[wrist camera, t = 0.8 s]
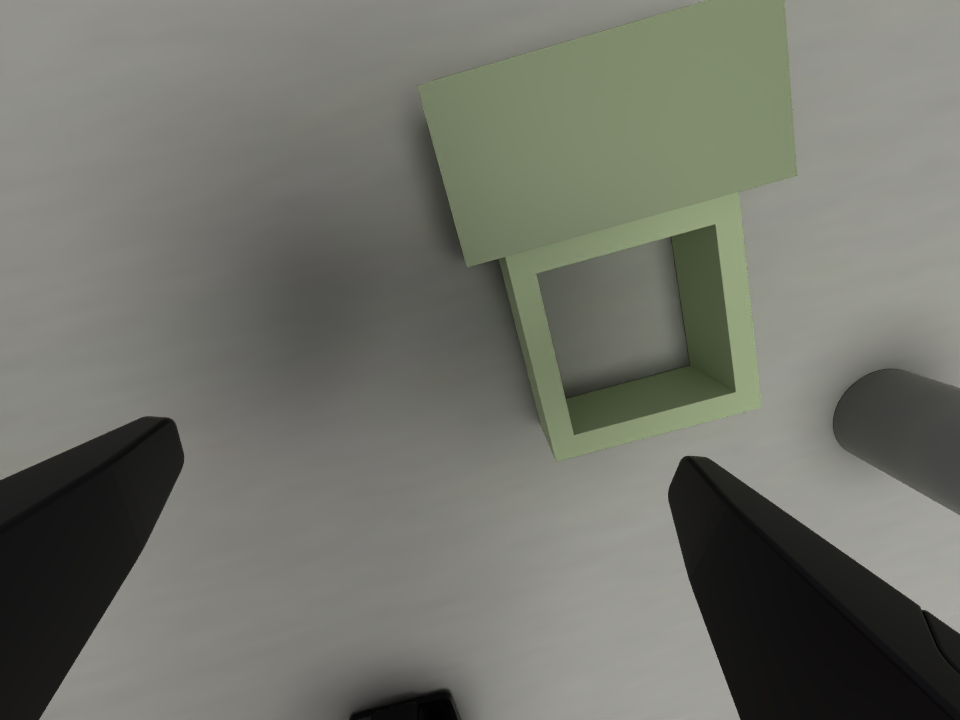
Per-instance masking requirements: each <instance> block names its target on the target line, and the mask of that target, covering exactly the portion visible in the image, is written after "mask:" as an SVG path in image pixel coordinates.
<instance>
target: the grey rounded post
mask: <svg viewBox="0 0 960 720" xmlns="http://www.w3.org/2000/svg"><path fill="white" fill-rule="evenodd" d="M833 428H834V433H835V437H836V439H837V441H838V442H839V444H840V445H841V446H842V447H843V448H844V449H845V450H846V451H848V452H850V453H851V454H853V455H855V456H857V457H858V458H860V459H862V460H864V461H865V462H867V463H869V464H871V465H872V466H874V467H876V468H878V469H879V470H881V471H883V472H885V473H886V474H888V475H890V476H892V477H894V478H895V479H897V480H899V481H901V482H902V483H904V484H906V485H908V486H909V487H911V488H913V489H915V490H916V491H918V492H920V493H922V494H923V495H925V496H927V497H929V498H930V499H932V500H934V501H936V502H938V503H939V504H941V505H943V506H945V507H946V508H948V509H950V510H952V511H953V512H955V513H957V514H959V515H960V388H958V387H955V386H951V385H948V384H945V383H942V382H939V381H935V380H932V379H929V378H926V377H923V376H920V375H916V374H913V373H910V372H907V371H904V370H899V369H884V370H879V371H876V372H873V373H870V374H868V375H866V376H864V377H863V378H861V379H859V380H858V381H857V382H855V383H854V384H853V385H852V386H851V387H850V388H849V389H848V390H847V391H846V392H845V394H844V395H843V396H842V398H841V400H840V401H839V403H838V405H837V408H836V411H835V414H834V420H833Z"/></svg>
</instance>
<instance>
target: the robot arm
mask: <svg viewBox="0 0 960 720" xmlns="http://www.w3.org/2000/svg"><path fill="white" fill-rule="evenodd" d="M183 464H184V452H183V449H182V445H181V441H180V437H179V434H178V430H177V426H176V423H175V422H174V421H173V420H172V419H170V418H167V417H154V416H146V417H142V418H140V419H137V420H135V421H133V422H131V423H128V424H126V425H124V426H122V427H119V428H117V429H115V430H113V431H110V432H108V433H106V434H104V435H101V436H99V437H97V438H95V439H92V440H90V441H88V442H86V443H83V444H81V445H79V446H77V447H74V448H72V449H70V450H68V451H65V452H63V453H61V454H59V455H56V456H54V457H52V458H49V459H47V460H45V461H43V462H40V463H38V464H36V465H34V466H31V467H29V468H27V469H25V470H22V471H20V472H18V473H16V474H13V475H11V476H9V477H7V478H4V479H2V480H0V720H39V719H40V717H41V716H42V714H43V712H44V711H45V709H46V707H47V706H48V704H49V702H50V701H51V699H52V698H53V696H54V694H55V693H56V691H57V689H58V688H59V686H60V685H61V683H62V681H63V680H64V678H65V676H66V675H67V673H68V672H69V670H70V668H71V667H72V665H73V663H74V662H75V660H76V658H77V657H78V655H79V654H80V652H81V650H82V649H83V647H84V645H85V644H86V642H87V641H88V639H89V637H90V636H91V634H92V632H93V631H94V629H95V628H96V626H97V624H98V623H99V621H100V619H101V618H102V616H103V614H104V613H105V611H106V610H107V608H108V606H109V605H110V603H111V601H112V600H113V598H114V597H115V595H116V593H117V592H118V590H119V588H120V587H121V585H122V584H123V582H124V580H125V579H126V577H127V575H128V574H129V572H130V570H131V569H132V567H133V566H134V564H135V562H136V561H137V559H138V557H139V555H140V554H141V552H142V550H143V548H144V546H145V544H146V543H147V541H148V539H149V537H150V535H151V533H152V531H153V528H154V526H155V524H156V522H157V520H158V518H159V516H160V514H161V512H162V510H163V508H164V505H165V503H166V501H167V499H168V497H169V495H170V493H171V491H172V489H173V487H174V485H175V482H176V480H177V478H178V476H179V474H180V472H181V470H182V467H183ZM668 500H669V504H670V508H671V512H672V516H673V520H674V524H675V528H676V532H677V536H678V540H679V544H680V547H681V551H682V555H683V559H684V563H685V567H686V570H687V574H688V577H689V581H690V583H691V586H692V589H693V592H694V595H695V598H696V600H697V603H698V606H699V608H700V611H701V614H702V617H703V619H704V622H705V625H706V627H707V630H708V633H709V636H710V638H711V641H712V644H713V646H714V649H715V652H716V654H717V657H718V660H719V663H720V665H721V668H722V671H723V673H724V676H725V679H726V682H727V684H728V687H729V690H730V692H731V695H732V698H733V700H734V703H735V706H736V709H737V711H738V714H739V717H740V719H741V720H960V634H959V633H958V632H956V631H955V630H953V629H952V628H951V627H949V626H948V625H946V624H945V623H943V622H942V621H941V620H939V619H938V618H936V617H935V616H934V615H932V614H931V613H929V612H928V611H926V610H921V608H920V606H919V605H918V604H916V603H915V602H913V601H912V600H911V599H909V598H908V597H906V596H905V595H903V594H902V593H900V592H899V591H898V590H896V589H895V588H893V587H892V586H890V585H889V584H888V583H886V582H885V581H883V580H882V579H880V578H879V577H878V576H876V575H875V574H873V573H872V572H870V571H869V570H868V569H866V568H865V567H863V566H862V565H860V564H859V563H858V562H856V561H855V560H853V559H852V558H850V557H849V556H848V555H846V554H845V553H843V552H842V551H840V550H839V549H838V548H836V547H835V546H833V545H832V544H830V543H829V542H828V541H826V540H825V539H823V538H822V537H820V536H819V535H818V534H816V533H815V532H813V531H812V530H810V529H809V528H808V527H806V526H805V525H803V524H802V523H800V522H799V521H798V520H796V519H795V518H793V517H792V516H790V515H789V514H788V513H786V512H785V511H783V510H782V509H780V508H779V507H778V506H776V505H775V504H773V503H772V502H770V501H769V500H768V499H766V498H765V497H763V496H762V495H760V494H759V493H758V492H756V491H755V490H753V489H752V488H750V487H749V486H748V485H746V484H745V483H743V482H742V481H740V480H739V479H738V478H736V477H735V476H733V475H732V474H730V473H729V472H728V471H726V470H725V469H723V468H722V467H720V466H719V465H718V464H716V463H715V462H713V461H712V460H710V459H709V458H706V457H698V456H685V457H683V458H682V459H681V461H680V463H679V465H678V468H677V470H676V472H675V475H674V477H673V479H672V482H671V484H670V487H669V491H668ZM349 720H461V719H460V716H459V714H458V711H457V709H456V706H455V703H454V701H453V698H452V696H451V694H450V693H448V692H440V693H436V694H432V695H428V696H424V697H420V698H416V699H412V700H408V701H404V702H400V703H396V704H392V705H388V706H384V707H380V708H376V709H372V710H368V711H365V712H361V713H357V714H353V715H351V716H350V717H349Z"/></svg>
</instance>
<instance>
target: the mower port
mask: <svg viewBox="0 0 960 720" xmlns="http://www.w3.org/2000/svg"><path fill="white" fill-rule="evenodd" d="M417 88H418V91H419V95H420V98H421V102H422V106H423V109H424V113H425V117H426V120H427V124H428V128H429V131H430V135H431V139H432V142H433V146H434V150H435V153H436V157H437V161H438V164H439V168H440V172H441V175H442V179H443V183H444V186H445V190H446V193H447V197H448V201H449V204H450V208H451V212H452V215H453V219H454V223H455V226H456V230H457V234H458V237H459V241H460V245H461V248H462V252H463V256H464V259H465V263H466V267H471V266H475V265H478V264H482V263H485V262H489V261H493V260H496V259H499V263H500V267H501V271H502V275H503V279H504V283H505V287H506V291H507V295H508V299H509V303H510V306H511V310H512V314H513V318H514V322H515V326H516V330H517V334H518V338H519V342H520V346H521V350H522V354H523V358H524V362H525V366H526V370H527V374H528V377H529V381H530V385H531V389H532V393H533V397H534V401H535V405H536V409H537V413H538V417H539V421H540V425H541V427H542V429H543V432H544V434H545V436H546V439H547V441H548V444H549V446H550V448H551V451H552V453H553V455H554V458H555V460H556V462H557V461H561V460H565V459H569V458H572V457H576V456H580V455H584V454H588V453H591V452H595V451H599V450H603V449H606V448H610V447H614V446H618V445H621V444H625V443H629V442H633V441H637V440H640V439H644V438H648V437H652V436H655V435H659V434H663V433H667V432H671V431H674V430H678V429H682V428H686V427H689V426H693V425H697V424H701V423H705V422H708V421H712V420H716V419H720V418H723V417H727V416H731V415H735V414H738V413H742V412H746V411H750V410H754V409H757V408H761V407H762V405H761V396H760V386H759V377H758V367H757V358H756V349H755V339H754V330H753V321H752V311H751V302H750V293H749V283H748V274H747V264H746V255H745V246H744V236H743V227H742V218H741V208H740V199H739V192H740V191H744V190H747V189H751V188H754V187H758V186H762V185H765V184H769V183H772V182H776V181H780V180H783V179H787V178H790V177H794V176H797V167H796V153H795V140H794V126H793V112H792V99H791V85H790V71H789V57H788V44H787V30H786V16H785V2H784V0H708V1H704V2H701V3H697V4H694V5H690V6H687V7H684V8H680V9H677V10H673V11H670V12H666V13H663V14H660V15H656V16H653V17H649V18H646V19H642V20H639V21H636V22H632V23H629V24H625V25H622V26H618V27H615V28H611V29H608V30H605V31H601V32H598V33H594V34H591V35H587V36H584V37H581V38H577V39H574V40H570V41H567V42H563V43H560V44H557V45H553V46H550V47H546V48H543V49H539V50H536V51H533V52H529V53H526V54H522V55H519V56H515V57H512V58H508V59H505V60H502V61H498V62H495V63H491V64H488V65H484V66H481V67H478V68H474V69H471V70H467V71H464V72H460V73H457V74H454V75H450V76H447V77H443V78H440V79H436V80H433V81H430V82H426V83H423V84H419V85H417ZM667 237H671V240H672V247H673V254H674V260H675V267H676V274H677V280H678V287H679V294H680V300H681V307H682V314H683V321H684V327H685V334H686V341H687V347H688V354H689V361H690V366H686V367H682V368H678V369H675V370H671V371H667V372H664V373H660V374H656V375H652V376H649V377H645V378H641V379H638V380H634V381H630V382H626V383H623V384H619V385H615V386H611V387H608V388H604V389H600V390H597V391H593V392H589V393H585V394H582V395H578V396H574V397H571V398H567V399H565V394H564V390H563V386H562V382H561V377H560V373H559V369H558V364H557V360H556V356H555V352H554V347H553V343H552V339H551V334H550V330H549V326H548V322H547V317H546V313H545V309H544V304H543V300H542V296H541V292H540V287H539V283H538V279H537V273H541V272H544V271H548V270H552V269H555V268H559V267H562V266H566V265H570V264H573V263H577V262H580V261H584V260H588V259H591V258H595V257H598V256H602V255H606V254H609V253H613V252H617V251H620V250H624V249H627V248H631V247H635V246H638V245H642V244H645V243H649V242H653V241H656V240H660V239H663V238H667Z"/></svg>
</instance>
